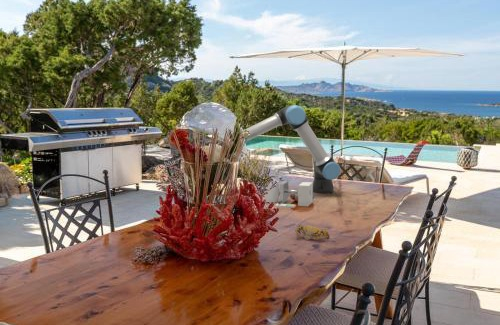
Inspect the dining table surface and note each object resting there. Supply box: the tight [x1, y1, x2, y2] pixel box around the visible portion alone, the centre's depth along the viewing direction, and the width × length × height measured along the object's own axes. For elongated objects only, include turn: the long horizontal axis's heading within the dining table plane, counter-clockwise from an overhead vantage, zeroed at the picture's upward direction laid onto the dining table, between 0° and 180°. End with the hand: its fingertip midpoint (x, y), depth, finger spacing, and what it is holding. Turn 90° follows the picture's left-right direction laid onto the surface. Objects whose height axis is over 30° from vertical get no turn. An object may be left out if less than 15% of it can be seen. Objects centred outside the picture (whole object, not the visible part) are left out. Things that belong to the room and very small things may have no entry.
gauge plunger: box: [277, 180, 298, 204], centre depth 274 cm, size 10×18×12 cm, turn 161°
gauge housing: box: [274, 181, 314, 209], centre depth 273 cm, size 18×18×12 cm
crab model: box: [294, 224, 330, 243], centre depth 207 cm, size 16×13×6 cm
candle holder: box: [265, 180, 281, 204], centre depth 281 cm, size 10×10×12 cm
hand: (262, 192), depth 283 cm, fingers closed
